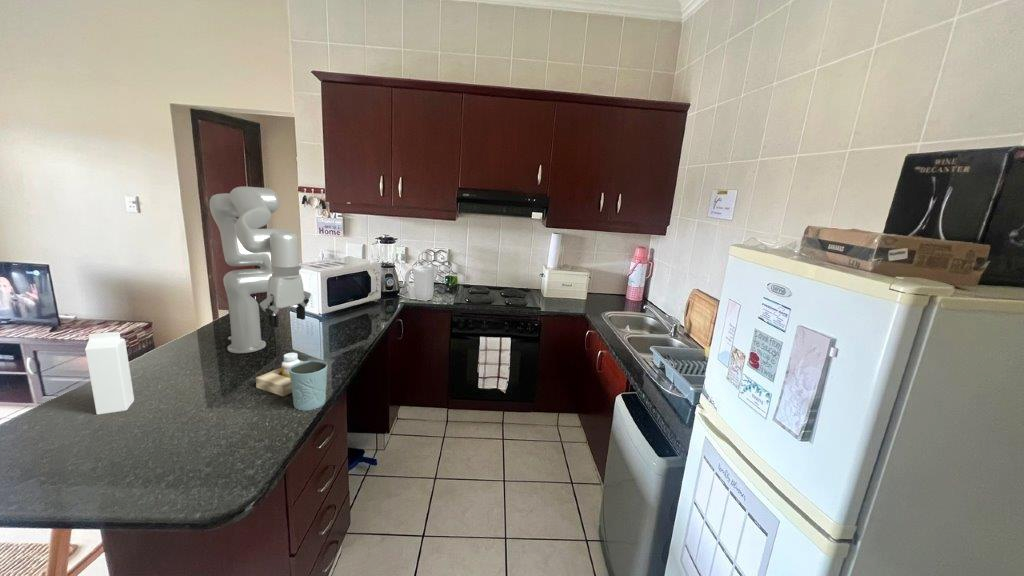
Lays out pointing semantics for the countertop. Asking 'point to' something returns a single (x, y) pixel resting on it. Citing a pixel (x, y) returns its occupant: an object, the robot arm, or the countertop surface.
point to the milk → (109, 372)
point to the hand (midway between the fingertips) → (288, 322)
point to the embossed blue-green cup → (308, 384)
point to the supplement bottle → (289, 363)
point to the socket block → (275, 382)
